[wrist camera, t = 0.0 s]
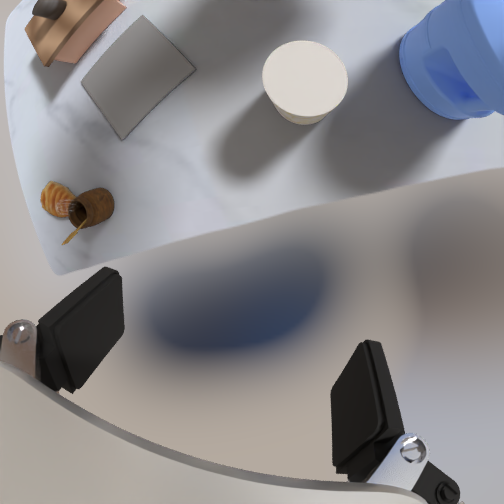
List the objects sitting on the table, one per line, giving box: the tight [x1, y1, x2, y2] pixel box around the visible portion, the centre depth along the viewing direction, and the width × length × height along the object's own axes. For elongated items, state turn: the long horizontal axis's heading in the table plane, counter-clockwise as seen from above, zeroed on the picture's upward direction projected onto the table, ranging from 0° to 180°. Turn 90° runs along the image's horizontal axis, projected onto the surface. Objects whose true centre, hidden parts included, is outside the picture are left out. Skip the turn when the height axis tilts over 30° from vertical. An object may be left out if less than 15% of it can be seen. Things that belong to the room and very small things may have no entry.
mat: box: [81, 15, 196, 140], centre depth 34 cm, size 16×16×1 cm
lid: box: [25, 0, 104, 67], centre depth 21 cm, size 16×16×6 cm
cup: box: [262, 41, 348, 125], centre depth 27 cm, size 8×8×12 cm
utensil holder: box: [57, 188, 114, 245], centre depth 38 cm, size 6×6×12 cm
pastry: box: [41, 181, 76, 217], centre depth 43 cm, size 9×7×4 cm
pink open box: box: [54, 0, 127, 64], centre depth 27 cm, size 14×14×7 cm
